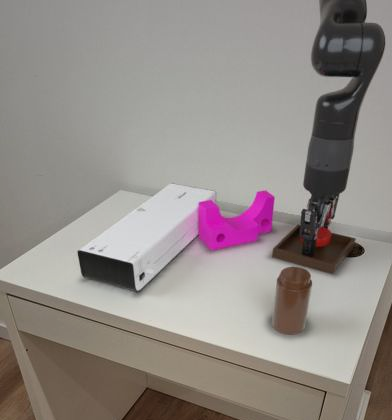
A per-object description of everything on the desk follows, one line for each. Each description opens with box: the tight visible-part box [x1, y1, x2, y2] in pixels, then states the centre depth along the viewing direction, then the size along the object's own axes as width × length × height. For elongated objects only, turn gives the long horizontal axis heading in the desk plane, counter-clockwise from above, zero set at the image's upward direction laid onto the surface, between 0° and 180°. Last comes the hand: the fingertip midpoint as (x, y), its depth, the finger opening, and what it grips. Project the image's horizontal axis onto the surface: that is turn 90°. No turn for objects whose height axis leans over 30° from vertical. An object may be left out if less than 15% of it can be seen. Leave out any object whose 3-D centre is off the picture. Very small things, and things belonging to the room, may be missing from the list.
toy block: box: [198, 189, 276, 251], centre depth 97 cm, size 15×6×8 cm, turn 113°
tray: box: [271, 223, 357, 275], centre depth 93 cm, size 12×12×2 cm
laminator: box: [76, 182, 217, 293], centre depth 94 cm, size 34×12×6 cm, turn 154°
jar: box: [271, 266, 313, 335], centre depth 73 cm, size 5×5×9 cm
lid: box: [300, 227, 332, 247], centre depth 92 cm, size 6×6×2 cm
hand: (313, 248), depth 94 cm, fingers closed on lid, 5 cm apart
